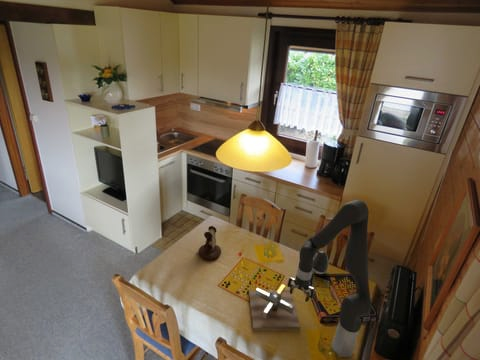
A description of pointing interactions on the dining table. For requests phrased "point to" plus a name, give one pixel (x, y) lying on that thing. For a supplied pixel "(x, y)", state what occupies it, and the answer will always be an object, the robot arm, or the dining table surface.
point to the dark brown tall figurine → (210, 245)
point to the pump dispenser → (320, 262)
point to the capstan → (274, 301)
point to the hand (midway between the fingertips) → (298, 296)
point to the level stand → (272, 313)
